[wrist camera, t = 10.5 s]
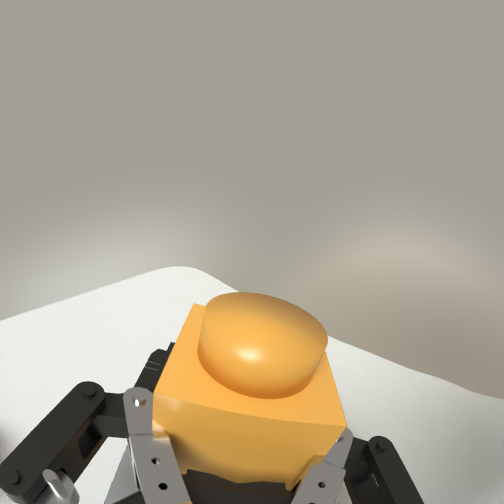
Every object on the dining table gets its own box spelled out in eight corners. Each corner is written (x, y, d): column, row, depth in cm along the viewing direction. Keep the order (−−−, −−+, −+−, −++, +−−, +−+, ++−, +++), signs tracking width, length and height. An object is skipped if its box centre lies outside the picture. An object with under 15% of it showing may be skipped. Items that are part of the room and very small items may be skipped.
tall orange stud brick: (268, 441, 16) (330, 301, 13) (268, 519, 10) (369, 390, 7) (175, 422, 16) (199, 271, 13) (153, 499, 10) (156, 351, 7)
